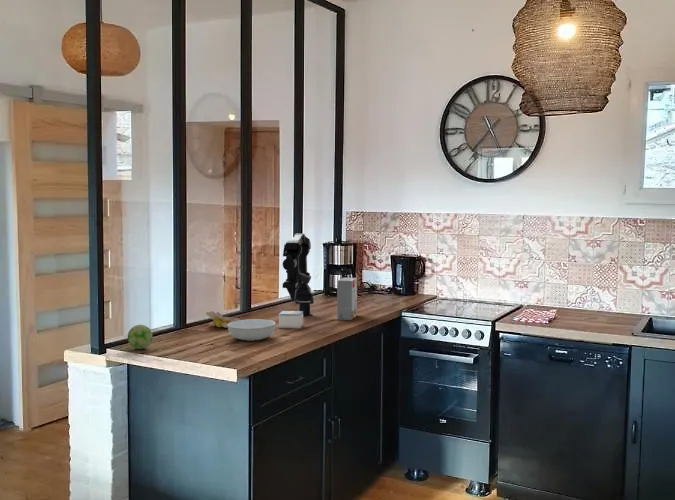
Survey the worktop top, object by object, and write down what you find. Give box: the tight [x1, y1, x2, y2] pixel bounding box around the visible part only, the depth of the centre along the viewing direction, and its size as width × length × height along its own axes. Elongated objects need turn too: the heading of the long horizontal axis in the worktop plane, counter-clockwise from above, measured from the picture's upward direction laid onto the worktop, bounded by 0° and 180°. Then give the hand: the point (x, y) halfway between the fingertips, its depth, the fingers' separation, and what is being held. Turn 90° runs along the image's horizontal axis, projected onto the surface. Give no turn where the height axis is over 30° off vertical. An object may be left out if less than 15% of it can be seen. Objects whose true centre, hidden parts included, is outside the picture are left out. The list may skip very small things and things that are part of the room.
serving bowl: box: [227, 318, 277, 342], centre depth 298 cm, size 21×21×7 cm
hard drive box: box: [336, 277, 358, 321], centre depth 349 cm, size 16×8×20 cm, turn 168°
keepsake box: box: [278, 313, 304, 329], centre depth 325 cm, size 8×10×6 cm
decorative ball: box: [127, 324, 153, 350], centre depth 278 cm, size 10×10×10 cm
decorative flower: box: [205, 310, 240, 328], centre depth 325 cm, size 15×11×10 cm
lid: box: [278, 310, 303, 316], centre depth 325 cm, size 8×10×1 cm
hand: (293, 300), depth 327 cm, fingers closed
